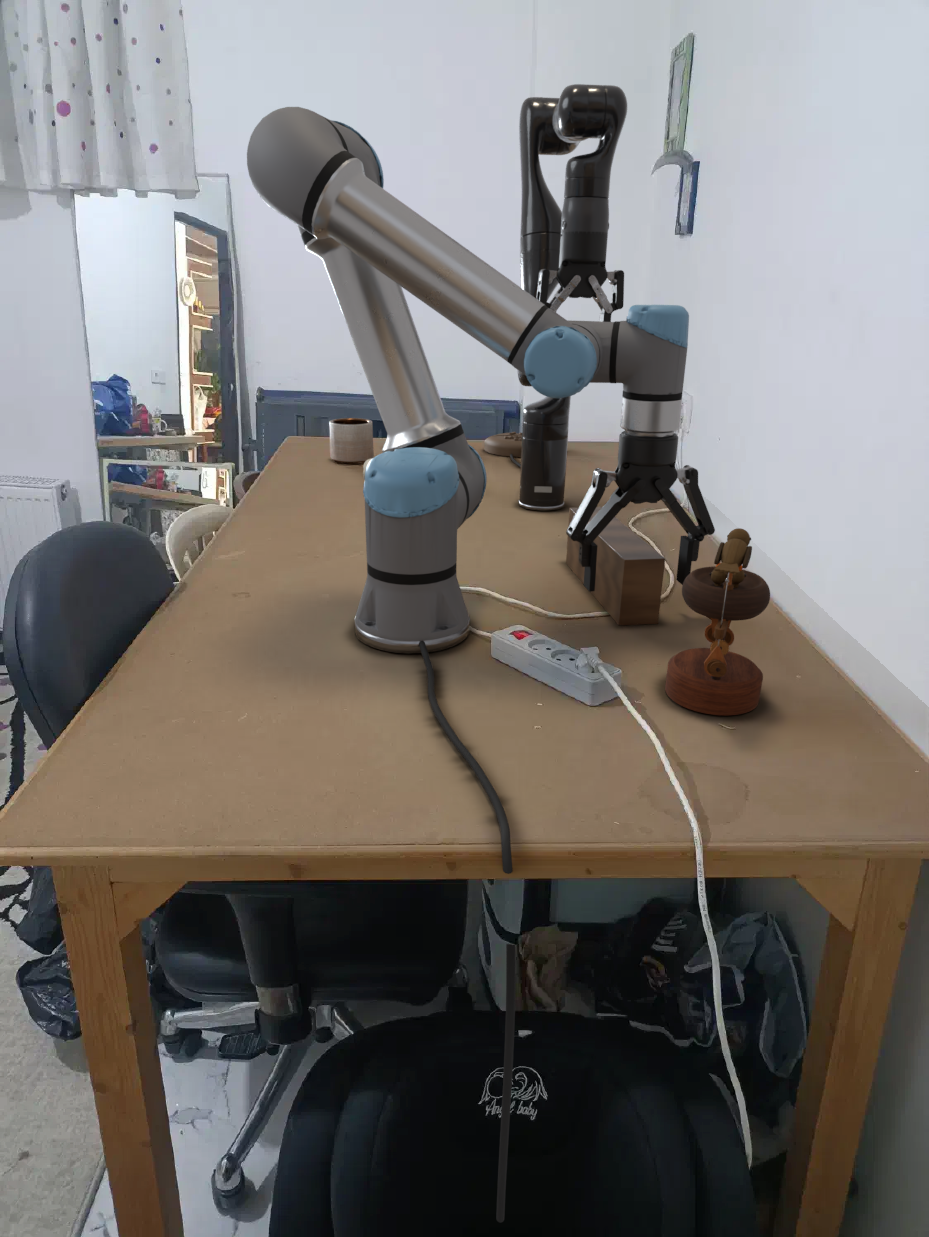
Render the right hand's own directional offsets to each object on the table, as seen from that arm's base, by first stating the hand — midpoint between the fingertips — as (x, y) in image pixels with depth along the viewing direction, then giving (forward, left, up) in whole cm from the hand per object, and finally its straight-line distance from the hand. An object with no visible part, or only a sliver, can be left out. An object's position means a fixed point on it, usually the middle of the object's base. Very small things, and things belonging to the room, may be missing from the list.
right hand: (577, 337), depth 141 cm
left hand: (+38, +1, -30) cm, 49 cm away
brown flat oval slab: (-74, +6, -35) cm, 82 cm away
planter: (-69, -40, -35) cm, 87 cm away
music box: (+62, +4, -35) cm, 71 cm away
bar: (+28, 0, -35) cm, 45 cm away
